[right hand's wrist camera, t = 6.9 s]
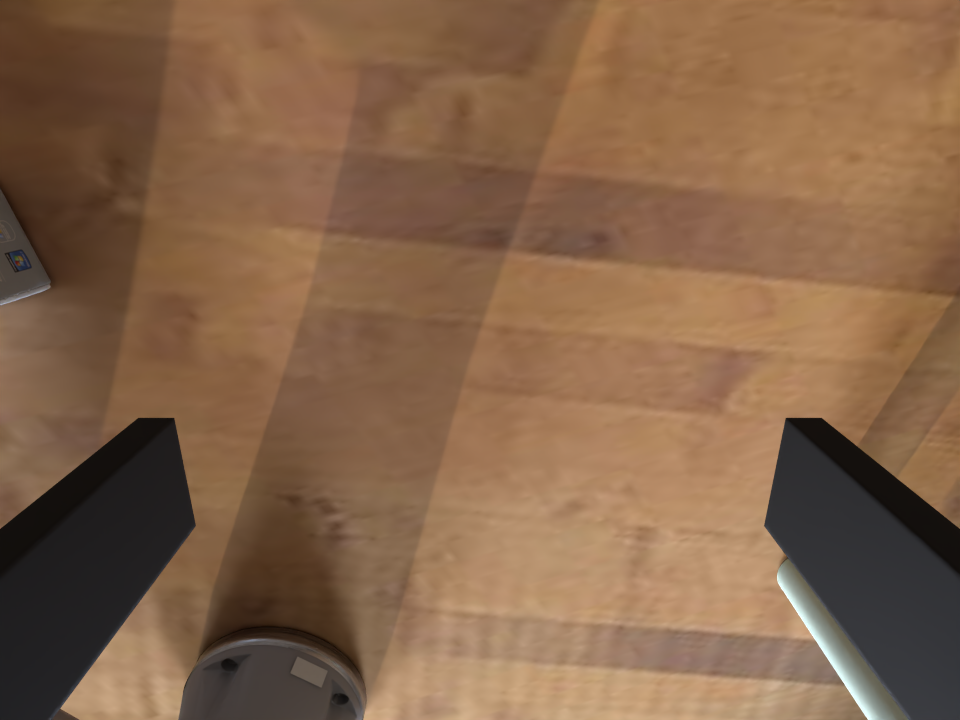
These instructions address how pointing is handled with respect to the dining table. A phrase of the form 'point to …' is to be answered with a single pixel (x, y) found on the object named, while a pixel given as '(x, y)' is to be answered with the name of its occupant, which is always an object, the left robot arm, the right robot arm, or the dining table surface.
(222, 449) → the dining table surface
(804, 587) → the bottle
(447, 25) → the dining table surface
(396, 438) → the dining table surface
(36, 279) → the hard drive box
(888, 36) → the dining table surface
